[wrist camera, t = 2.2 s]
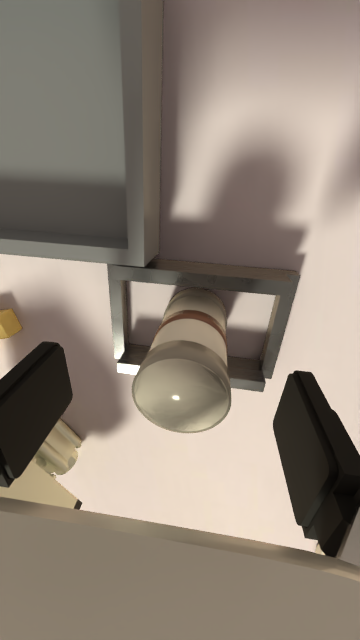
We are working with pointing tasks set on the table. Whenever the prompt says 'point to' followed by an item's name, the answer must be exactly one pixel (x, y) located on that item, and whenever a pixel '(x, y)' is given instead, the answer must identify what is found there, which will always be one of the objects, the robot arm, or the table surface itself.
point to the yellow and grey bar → (8, 323)
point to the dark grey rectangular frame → (211, 277)
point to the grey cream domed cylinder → (186, 366)
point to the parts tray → (81, 129)
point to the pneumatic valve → (48, 471)
